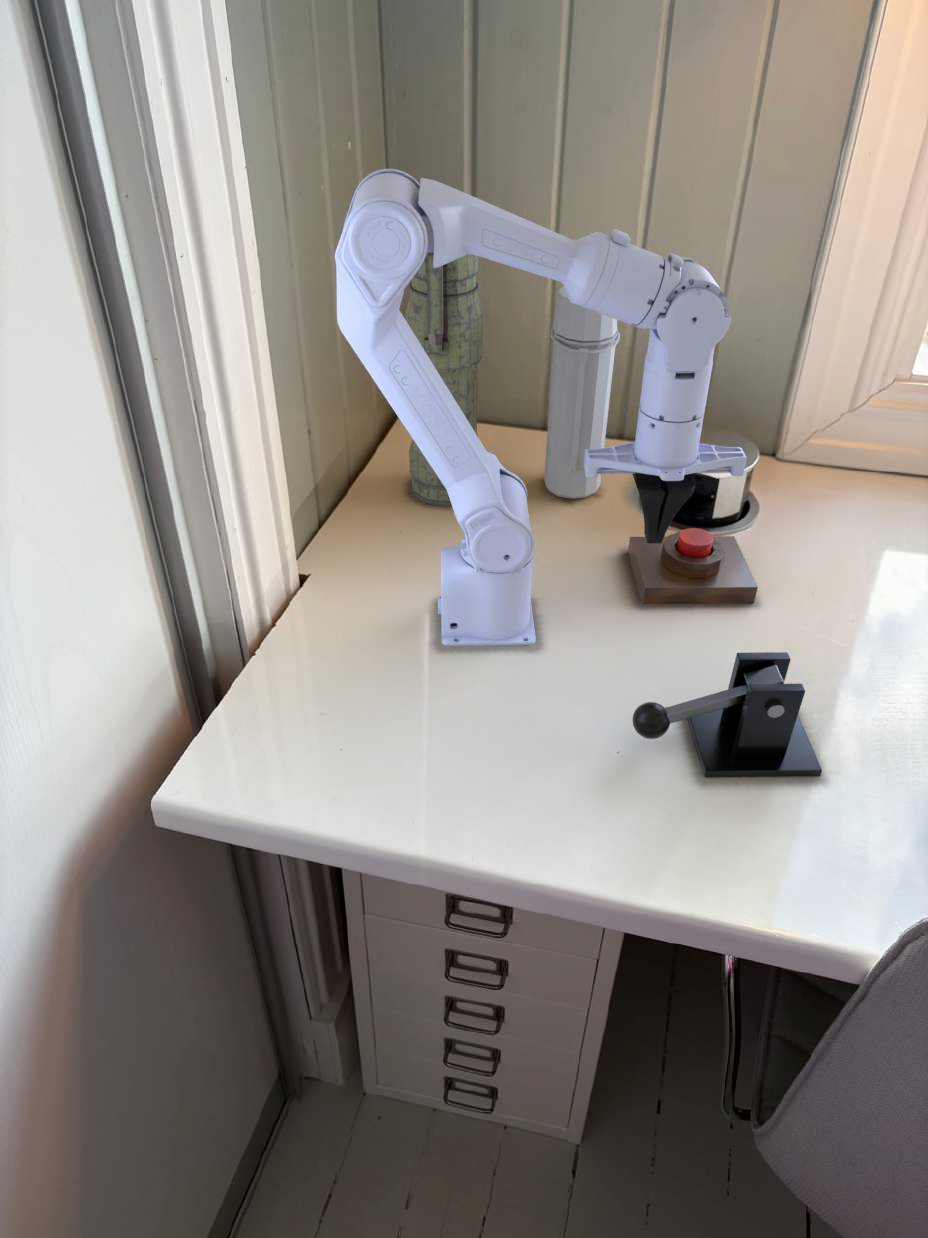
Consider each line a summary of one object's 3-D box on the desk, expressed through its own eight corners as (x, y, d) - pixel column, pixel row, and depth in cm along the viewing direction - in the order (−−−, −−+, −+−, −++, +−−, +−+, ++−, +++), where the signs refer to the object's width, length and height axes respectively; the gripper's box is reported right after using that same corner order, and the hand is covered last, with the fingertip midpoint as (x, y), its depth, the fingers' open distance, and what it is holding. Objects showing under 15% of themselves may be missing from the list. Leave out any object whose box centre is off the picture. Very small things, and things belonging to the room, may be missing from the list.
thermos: (481, 466, 123) (487, 182, 102) (478, 513, 114) (484, 210, 92) (414, 464, 123) (406, 180, 102) (406, 511, 114) (395, 209, 92)
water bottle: (542, 471, 122) (555, 279, 107) (602, 476, 121) (624, 282, 106) (537, 507, 115) (550, 306, 99) (601, 512, 114) (624, 310, 99)
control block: (642, 604, 99) (647, 574, 97) (627, 552, 107) (631, 523, 105) (753, 603, 99) (761, 573, 97) (730, 552, 107) (737, 522, 105)
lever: (641, 750, 81) (631, 726, 79) (635, 724, 83) (625, 700, 81) (791, 708, 78) (784, 682, 76) (780, 682, 80) (773, 656, 78)
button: (680, 559, 100) (682, 545, 98) (673, 541, 102) (676, 527, 101) (713, 559, 100) (716, 545, 99) (706, 541, 102) (708, 527, 101)
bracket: (704, 779, 79) (722, 704, 74) (684, 715, 86) (700, 641, 80) (819, 778, 80) (846, 703, 74) (792, 714, 86) (814, 640, 81)
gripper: (596, 429, 79) (583, 562, 87) (765, 427, 79) (737, 559, 87) (585, 394, 84) (575, 522, 93) (744, 393, 85) (719, 520, 93)
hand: (653, 537), depth 90 cm, fingers closed
